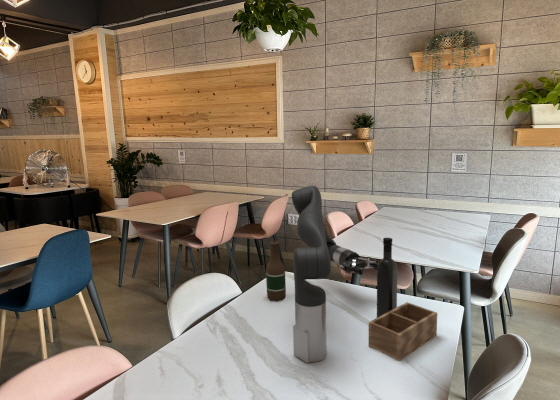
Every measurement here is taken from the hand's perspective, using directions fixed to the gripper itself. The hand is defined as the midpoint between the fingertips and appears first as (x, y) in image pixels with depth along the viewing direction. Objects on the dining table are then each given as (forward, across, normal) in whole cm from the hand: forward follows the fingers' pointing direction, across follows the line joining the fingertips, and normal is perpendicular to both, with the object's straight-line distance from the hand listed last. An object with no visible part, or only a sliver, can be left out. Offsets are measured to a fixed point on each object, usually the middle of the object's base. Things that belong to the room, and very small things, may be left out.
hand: (371, 270), depth 141 cm
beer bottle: (-28, -26, +16) cm, 42 cm away
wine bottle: (+8, 0, +16) cm, 18 cm away
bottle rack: (+22, -4, +16) cm, 27 cm away
